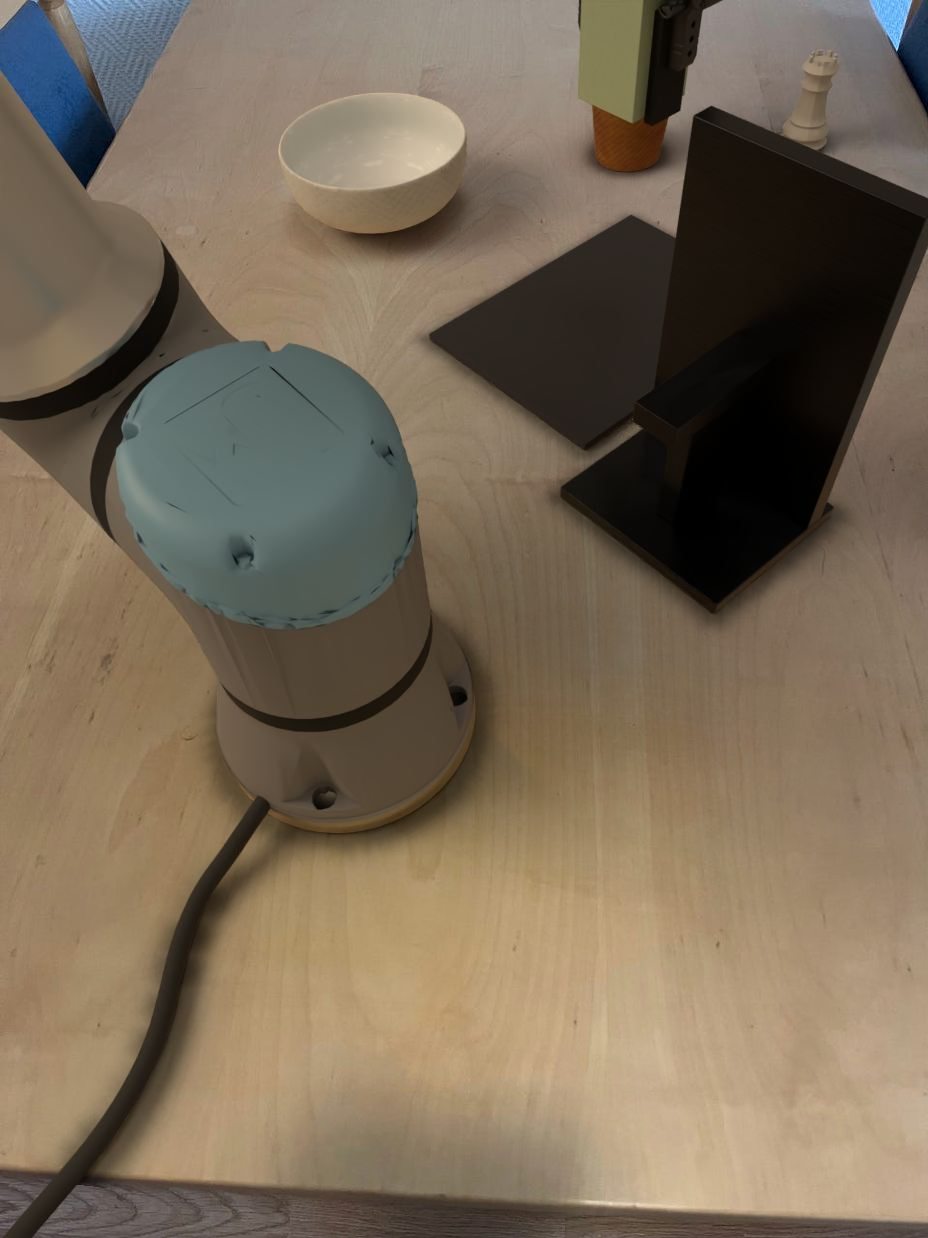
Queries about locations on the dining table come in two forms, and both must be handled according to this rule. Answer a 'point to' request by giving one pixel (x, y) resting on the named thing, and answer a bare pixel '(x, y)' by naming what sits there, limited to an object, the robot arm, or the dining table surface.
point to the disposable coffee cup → (626, 141)
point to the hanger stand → (757, 356)
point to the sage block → (616, 55)
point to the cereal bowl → (374, 161)
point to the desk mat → (575, 331)
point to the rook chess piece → (812, 102)
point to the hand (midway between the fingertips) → (630, 101)
